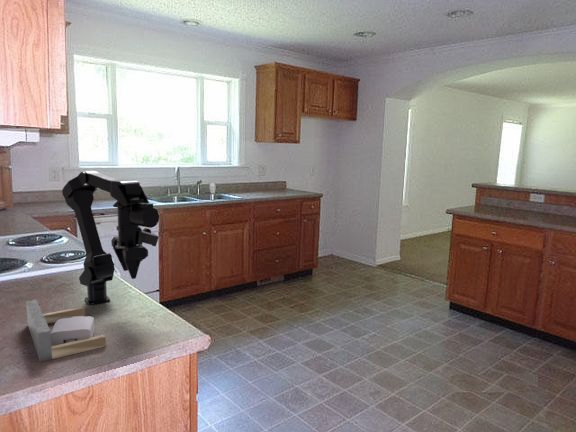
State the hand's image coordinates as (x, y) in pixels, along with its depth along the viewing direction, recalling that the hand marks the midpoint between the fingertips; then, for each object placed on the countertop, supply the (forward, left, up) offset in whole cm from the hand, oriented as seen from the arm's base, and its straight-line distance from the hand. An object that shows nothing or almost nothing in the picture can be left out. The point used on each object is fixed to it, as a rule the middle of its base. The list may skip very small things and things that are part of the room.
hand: (129, 274), depth 128 cm
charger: (+9, -17, -12) cm, 23 cm away
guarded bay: (+7, -19, -12) cm, 24 cm away
